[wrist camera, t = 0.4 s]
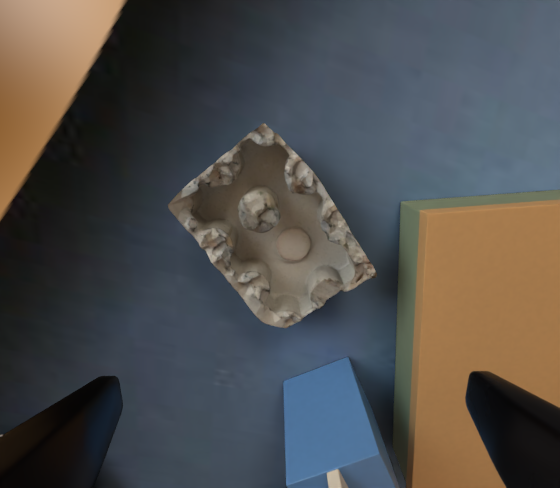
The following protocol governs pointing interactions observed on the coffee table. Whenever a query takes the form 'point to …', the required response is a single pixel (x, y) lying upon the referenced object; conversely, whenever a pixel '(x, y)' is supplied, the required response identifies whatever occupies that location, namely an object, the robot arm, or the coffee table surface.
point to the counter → (471, 324)
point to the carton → (333, 432)
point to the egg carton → (272, 229)
